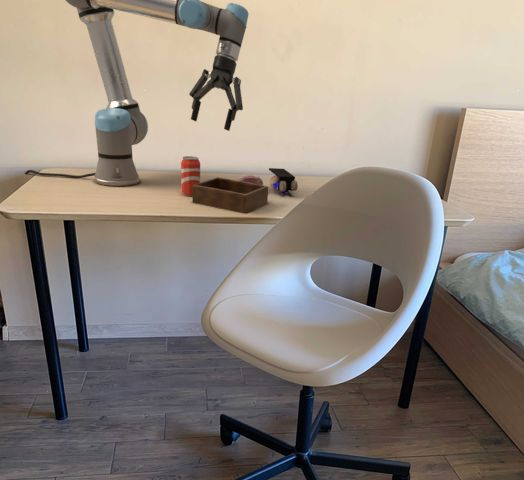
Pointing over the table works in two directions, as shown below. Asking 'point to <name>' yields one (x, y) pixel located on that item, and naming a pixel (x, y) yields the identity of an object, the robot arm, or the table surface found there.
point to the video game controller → (251, 179)
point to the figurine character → (283, 181)
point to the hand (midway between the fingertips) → (209, 125)
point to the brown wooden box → (230, 194)
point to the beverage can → (189, 174)
